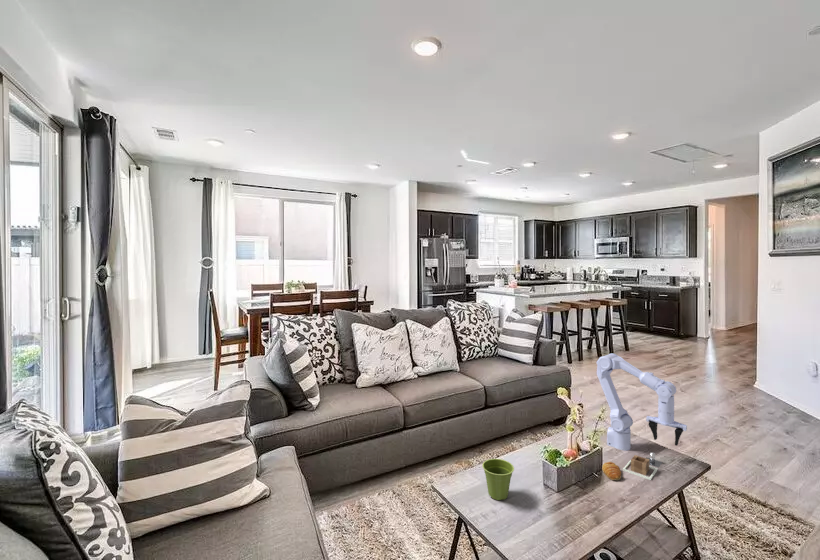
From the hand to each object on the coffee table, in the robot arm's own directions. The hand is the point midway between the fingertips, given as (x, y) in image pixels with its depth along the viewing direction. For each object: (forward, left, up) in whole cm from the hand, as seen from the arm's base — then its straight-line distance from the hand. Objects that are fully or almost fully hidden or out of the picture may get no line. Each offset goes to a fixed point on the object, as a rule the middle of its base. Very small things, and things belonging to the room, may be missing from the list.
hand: (665, 441), depth 164 cm
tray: (-6, -15, -10) cm, 19 cm away
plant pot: (-40, -68, -10) cm, 80 cm away
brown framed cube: (-6, -15, -9) cm, 18 cm away
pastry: (-14, -24, -10) cm, 29 cm away
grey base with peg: (-4, -4, -10) cm, 11 cm away
